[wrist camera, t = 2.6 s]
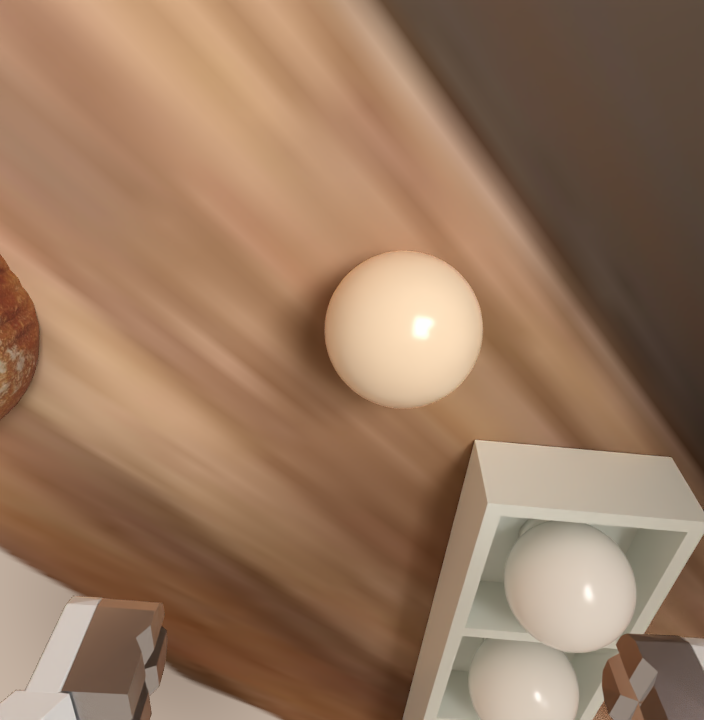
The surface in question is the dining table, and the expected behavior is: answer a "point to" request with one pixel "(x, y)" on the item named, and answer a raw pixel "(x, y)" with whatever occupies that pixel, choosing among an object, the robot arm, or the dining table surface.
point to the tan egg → (403, 329)
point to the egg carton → (500, 532)
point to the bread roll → (16, 339)
